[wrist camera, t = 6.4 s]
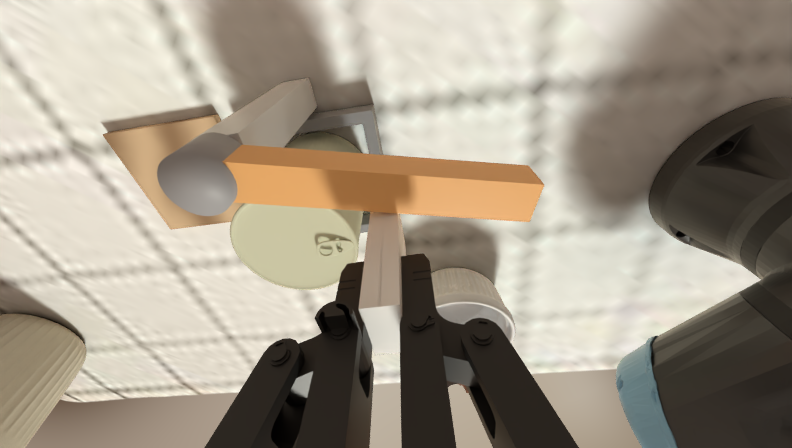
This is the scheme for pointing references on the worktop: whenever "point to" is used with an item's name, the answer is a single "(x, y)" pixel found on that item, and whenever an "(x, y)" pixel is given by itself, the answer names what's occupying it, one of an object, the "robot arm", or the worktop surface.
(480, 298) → the ramekin
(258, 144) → the socket
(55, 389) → the canister
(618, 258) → the worktop surface
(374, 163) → the orange bar
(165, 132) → the plate
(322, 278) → the can
